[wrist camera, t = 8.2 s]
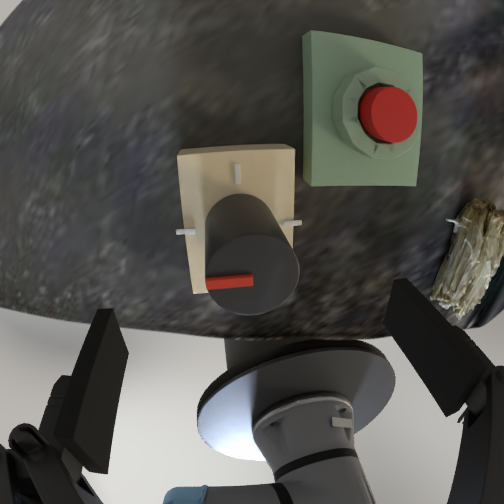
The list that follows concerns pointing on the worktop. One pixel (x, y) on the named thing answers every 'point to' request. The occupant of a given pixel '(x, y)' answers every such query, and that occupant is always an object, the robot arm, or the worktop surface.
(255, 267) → the dial
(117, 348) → the robot arm
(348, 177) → the switch base
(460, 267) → the mushroom
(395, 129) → the switch button
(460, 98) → the worktop surface
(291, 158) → the dial panel
